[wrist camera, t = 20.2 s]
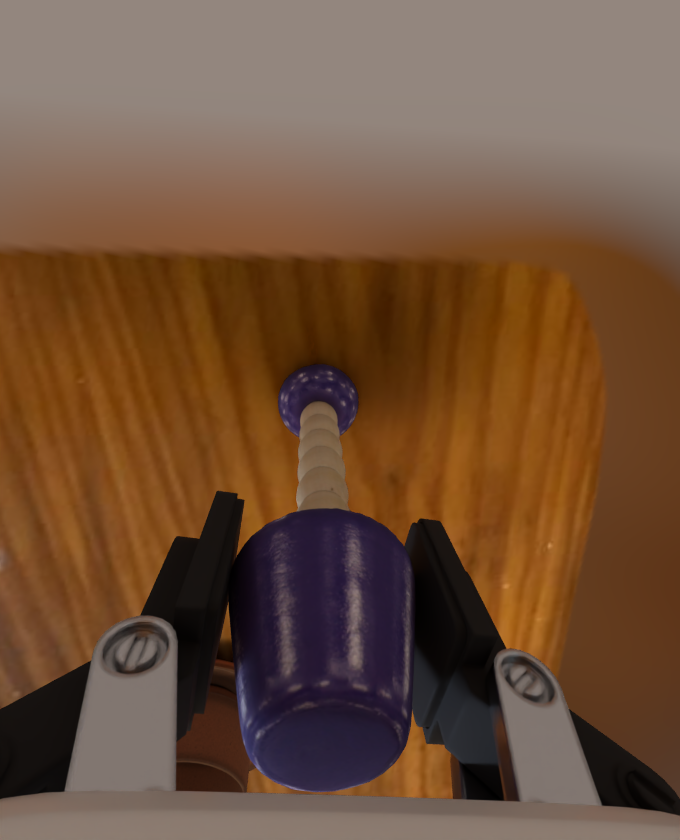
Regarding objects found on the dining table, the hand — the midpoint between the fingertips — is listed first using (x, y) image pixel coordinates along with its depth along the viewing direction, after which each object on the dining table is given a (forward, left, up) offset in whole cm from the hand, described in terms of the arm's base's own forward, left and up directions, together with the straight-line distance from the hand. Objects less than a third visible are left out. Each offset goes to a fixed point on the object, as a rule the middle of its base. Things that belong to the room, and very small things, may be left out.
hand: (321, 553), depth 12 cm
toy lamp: (0, 0, -12) cm, 12 cm away
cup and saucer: (+24, -4, -13) cm, 28 cm away
